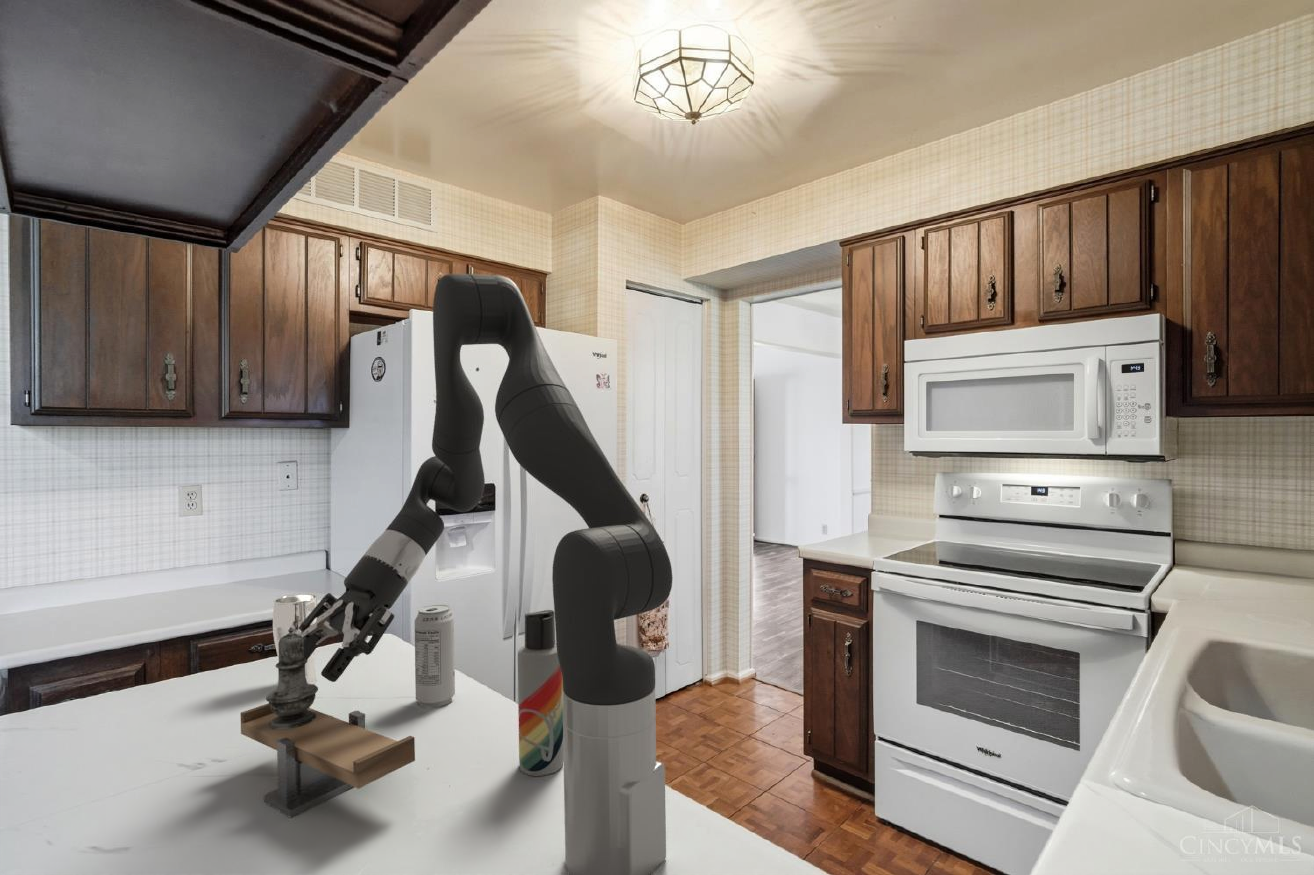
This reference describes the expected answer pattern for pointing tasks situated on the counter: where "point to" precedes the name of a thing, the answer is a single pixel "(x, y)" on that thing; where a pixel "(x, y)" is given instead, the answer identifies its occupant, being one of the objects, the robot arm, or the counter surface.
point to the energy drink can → (434, 656)
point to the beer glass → (294, 623)
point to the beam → (333, 746)
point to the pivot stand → (304, 779)
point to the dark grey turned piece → (291, 686)
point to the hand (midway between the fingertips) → (309, 672)
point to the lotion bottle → (540, 697)
